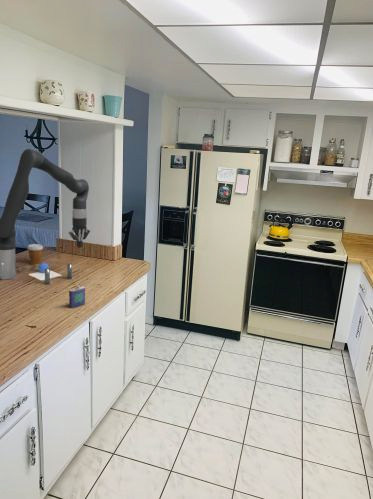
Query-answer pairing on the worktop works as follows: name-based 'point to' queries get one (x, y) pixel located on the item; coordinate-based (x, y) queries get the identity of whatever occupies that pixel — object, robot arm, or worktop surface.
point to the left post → (47, 276)
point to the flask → (76, 297)
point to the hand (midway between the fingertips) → (79, 247)
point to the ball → (43, 267)
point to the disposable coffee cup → (35, 253)
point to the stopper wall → (28, 268)
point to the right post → (69, 271)
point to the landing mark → (42, 275)
